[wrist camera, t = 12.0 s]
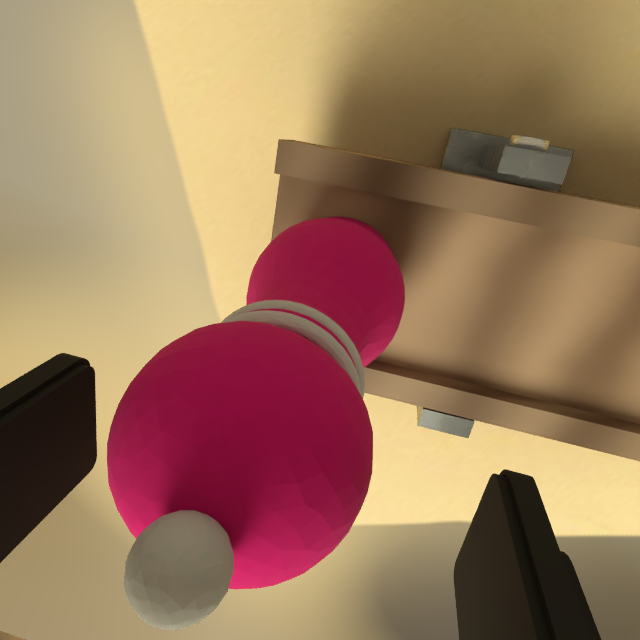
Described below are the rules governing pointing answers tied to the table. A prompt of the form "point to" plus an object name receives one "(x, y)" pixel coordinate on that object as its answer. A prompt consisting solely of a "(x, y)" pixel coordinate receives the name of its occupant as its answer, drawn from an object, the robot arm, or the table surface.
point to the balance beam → (493, 293)
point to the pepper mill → (256, 426)
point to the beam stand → (506, 165)
